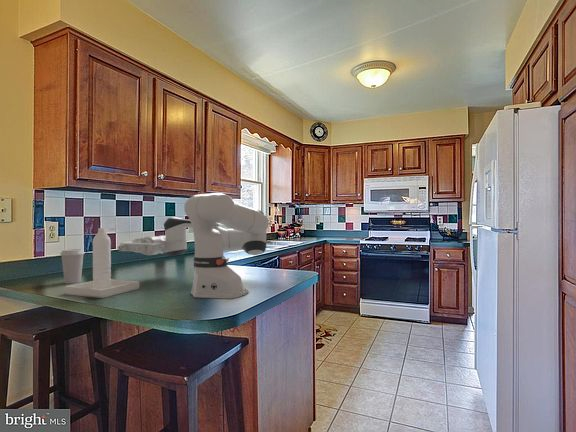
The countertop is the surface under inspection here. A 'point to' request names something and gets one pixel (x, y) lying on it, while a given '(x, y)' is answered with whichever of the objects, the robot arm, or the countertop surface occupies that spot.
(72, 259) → the coffee cup
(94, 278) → the water bottle
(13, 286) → the countertop surface
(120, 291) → the tray
